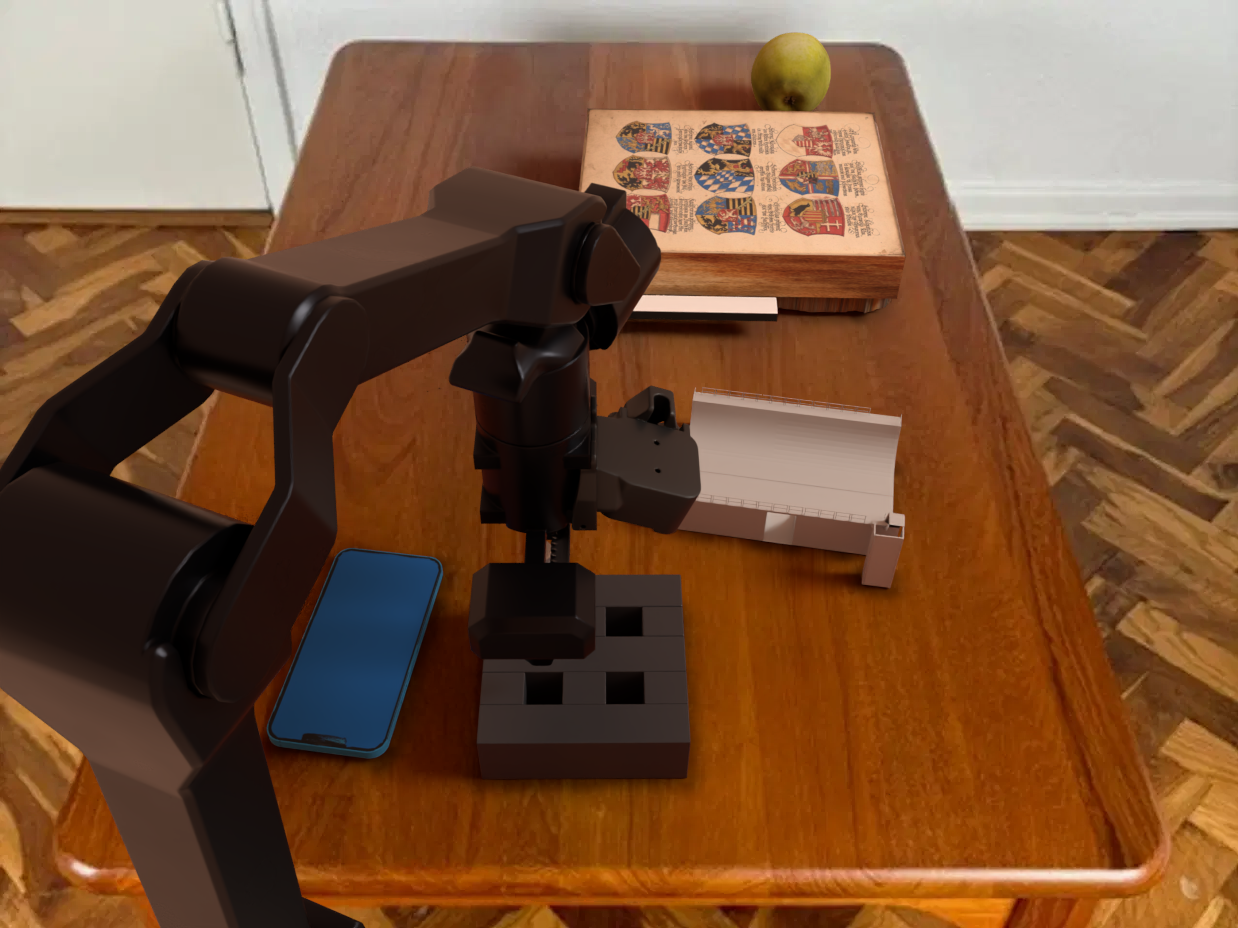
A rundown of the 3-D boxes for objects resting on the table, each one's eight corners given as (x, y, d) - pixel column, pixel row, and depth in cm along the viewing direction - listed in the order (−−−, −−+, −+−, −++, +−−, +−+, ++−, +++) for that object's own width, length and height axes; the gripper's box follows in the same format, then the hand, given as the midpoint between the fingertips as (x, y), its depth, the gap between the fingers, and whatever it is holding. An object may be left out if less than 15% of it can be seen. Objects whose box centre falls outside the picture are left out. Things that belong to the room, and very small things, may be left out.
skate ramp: (893, 448, 88) (906, 397, 84) (890, 589, 79) (904, 539, 75) (691, 422, 90) (695, 371, 86) (666, 557, 81) (668, 507, 77)
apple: (825, 93, 123) (835, 18, 118) (825, 139, 117) (836, 63, 111) (749, 88, 124) (756, 13, 118) (745, 134, 118) (752, 58, 112)
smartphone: (446, 558, 79) (383, 754, 69) (447, 567, 80) (385, 763, 70) (338, 545, 80) (260, 738, 70) (341, 555, 81) (263, 747, 70)
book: (549, 336, 97) (897, 342, 96) (545, 272, 92) (910, 279, 91) (569, 169, 114) (864, 173, 113) (566, 108, 109) (874, 112, 108)
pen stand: (687, 778, 69) (690, 742, 66) (481, 779, 69) (476, 743, 66) (678, 612, 78) (680, 573, 75) (494, 612, 77) (490, 574, 74)
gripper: (706, 552, 53) (689, 736, 64) (686, 288, 66) (674, 481, 77) (454, 552, 53) (481, 737, 64) (483, 288, 65) (501, 481, 77)
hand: (544, 597), depth 70 cm, fingers open, 9 cm apart
